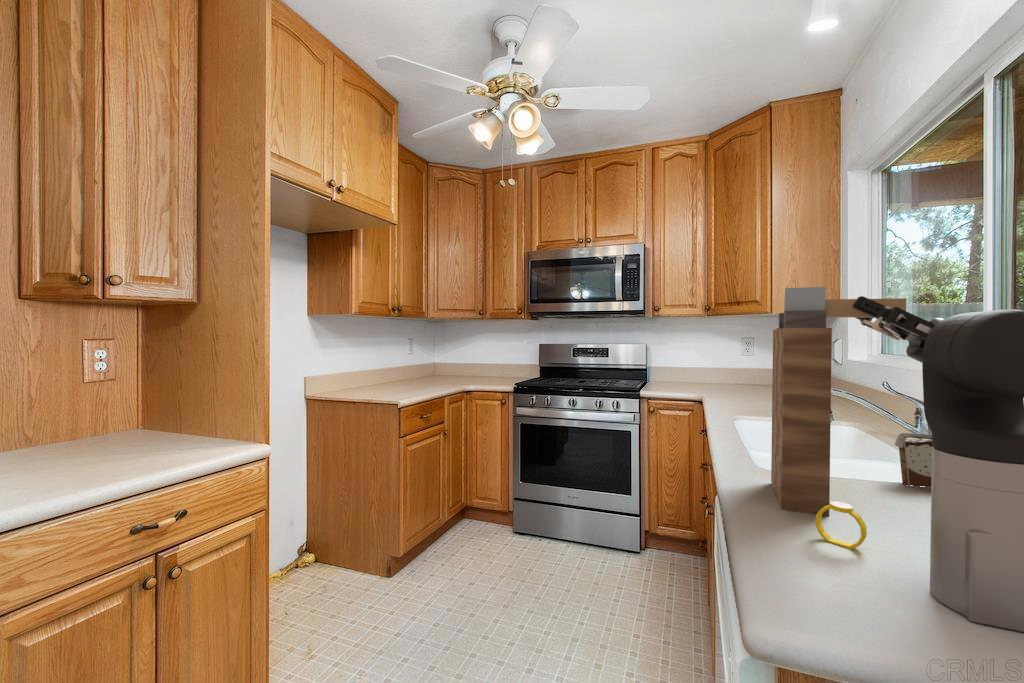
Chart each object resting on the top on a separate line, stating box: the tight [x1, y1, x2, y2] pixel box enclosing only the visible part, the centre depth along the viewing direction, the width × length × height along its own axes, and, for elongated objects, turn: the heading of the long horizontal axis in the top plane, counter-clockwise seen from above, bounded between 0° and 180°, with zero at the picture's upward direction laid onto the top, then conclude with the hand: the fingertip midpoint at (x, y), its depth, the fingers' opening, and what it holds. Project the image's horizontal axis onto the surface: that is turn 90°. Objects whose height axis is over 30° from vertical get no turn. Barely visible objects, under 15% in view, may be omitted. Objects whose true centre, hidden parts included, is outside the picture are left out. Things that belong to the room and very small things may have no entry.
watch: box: [815, 500, 868, 550], centre depth 66 cm, size 6×3×6 cm, turn 38°
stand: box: [770, 310, 833, 517], centre depth 85 cm, size 16×7×35 cm, turn 156°
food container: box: [894, 432, 932, 488], centre depth 95 cm, size 12×6×10 cm, turn 84°
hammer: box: [783, 286, 907, 319], centre depth 79 cm, size 6×17×7 cm, turn 59°
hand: (848, 303), depth 79 cm, fingers open, 8 cm apart
